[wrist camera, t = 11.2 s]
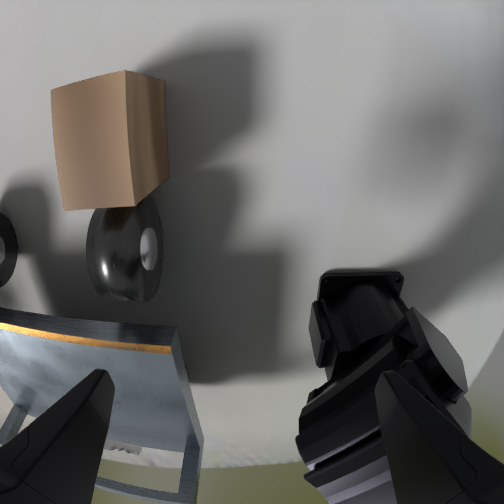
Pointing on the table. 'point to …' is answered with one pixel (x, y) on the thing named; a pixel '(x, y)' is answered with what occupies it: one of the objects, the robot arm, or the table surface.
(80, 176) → the block
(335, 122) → the table surface
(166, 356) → the trolley
